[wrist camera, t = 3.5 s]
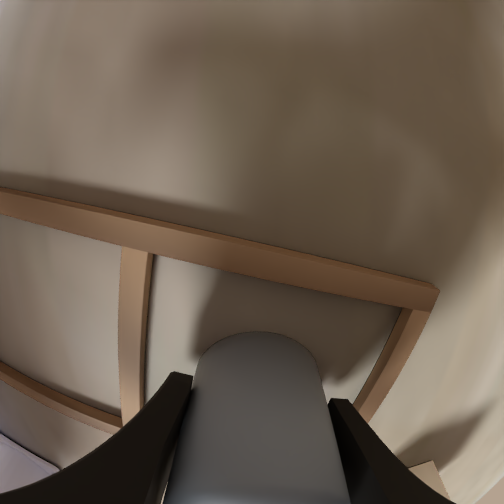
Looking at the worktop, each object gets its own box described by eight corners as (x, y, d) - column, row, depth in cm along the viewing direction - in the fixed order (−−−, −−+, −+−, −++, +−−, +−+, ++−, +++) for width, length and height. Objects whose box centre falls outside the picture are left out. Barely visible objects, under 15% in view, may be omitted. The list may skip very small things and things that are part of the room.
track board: (329, 462, 12) (331, 471, 11) (-76, 311, 10) (-80, 315, 10) (431, 283, 9) (440, 290, 8) (-91, 169, 7) (-98, 170, 7)
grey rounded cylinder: (296, 425, 11) (309, 541, 5) (189, 408, 10) (162, 528, 5) (336, 343, 9) (386, 481, 4) (205, 318, 9) (163, 467, 4)
